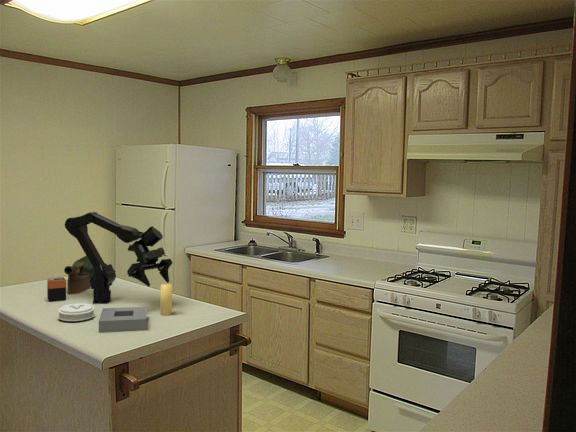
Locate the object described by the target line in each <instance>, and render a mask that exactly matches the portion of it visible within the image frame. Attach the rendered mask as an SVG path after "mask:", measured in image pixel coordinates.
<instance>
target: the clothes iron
mask: <svg viewBox="0 0 576 432" xmlns="http://www.w3.org/2000/svg"><path fill="white" fill-rule="evenodd" d="M84 265H85V264H84V263H83V262H81V263H79V264H76V265H75V266H72V265H66V266H65V267H64V269H63V270H64V271H63V272H64V273H65V274H66V275H67V279H66V287H67V288H66V293H67V294H68V295H76V294H80V293H83V292H85V291H88V290H89V289H91V287H90V284H91V283H90V274H89V273H85V272H84ZM77 269H80V271H79V272H76V270H77Z"/></svg>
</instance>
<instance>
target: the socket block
mask: <svg viewBox="0 0 576 432" xmlns="http://www.w3.org/2000/svg"><path fill="white" fill-rule="evenodd" d="M147 310H148V309H147V306H132V307H131V306H128V307H125V306H123V307H105V308H104V307H103V308H102V310H101V312H100V316H99V319H98V333H108V332H109V333H112V332H130V331H147Z"/></svg>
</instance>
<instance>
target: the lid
mask: <svg viewBox="0 0 576 432" xmlns="http://www.w3.org/2000/svg"><path fill="white" fill-rule="evenodd" d="M94 311H95V307H94V306H93V305H92V304H89V303H83V302H82V303H71V304H66V305H63V306H61V307H60V308H59V309H58V311H57V313H58V316H57V317H58V319H59V320H61V321H65V322H79V321H86V320H89V319H91V318H94V316H95V312H94Z"/></svg>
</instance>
